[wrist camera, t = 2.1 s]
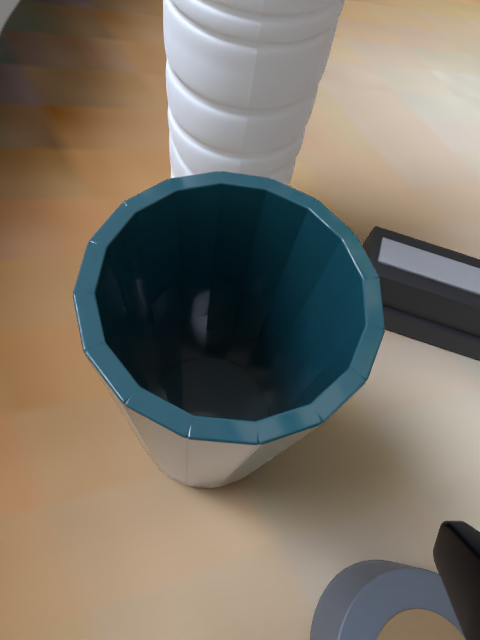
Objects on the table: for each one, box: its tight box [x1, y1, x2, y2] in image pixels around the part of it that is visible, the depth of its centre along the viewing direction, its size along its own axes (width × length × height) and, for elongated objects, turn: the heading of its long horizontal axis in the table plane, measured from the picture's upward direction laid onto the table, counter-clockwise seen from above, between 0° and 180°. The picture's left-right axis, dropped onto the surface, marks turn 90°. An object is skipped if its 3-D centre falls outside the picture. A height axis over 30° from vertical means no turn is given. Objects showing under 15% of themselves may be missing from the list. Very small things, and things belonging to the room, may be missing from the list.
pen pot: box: [73, 171, 385, 488], centre depth 15 cm, size 7×7×13 cm
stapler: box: [362, 226, 480, 360], centre depth 23 cm, size 10×4×4 cm, turn 73°
